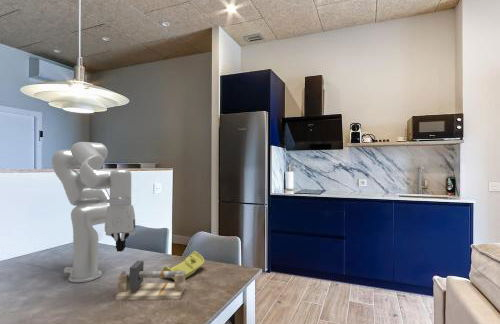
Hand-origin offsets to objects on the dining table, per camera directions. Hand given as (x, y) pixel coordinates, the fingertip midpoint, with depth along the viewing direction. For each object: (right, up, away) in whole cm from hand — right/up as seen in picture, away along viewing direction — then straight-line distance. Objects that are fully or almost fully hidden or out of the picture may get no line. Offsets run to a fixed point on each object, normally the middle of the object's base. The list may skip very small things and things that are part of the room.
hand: (120, 250), depth 110 cm
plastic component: (+20, -17, +21) cm, 33 cm away
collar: (+6, -13, 0) cm, 15 cm away
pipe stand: (+12, -16, +1) cm, 20 cm away
